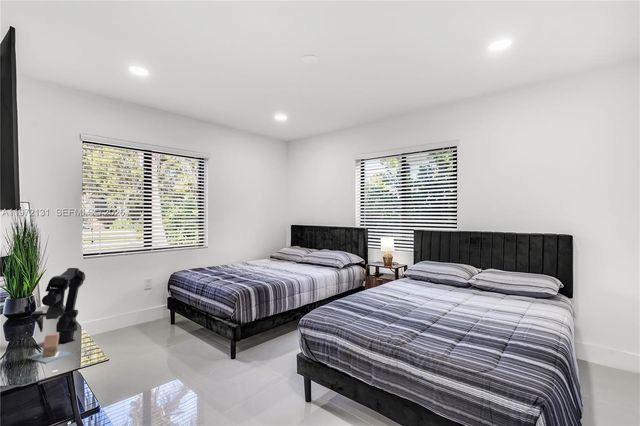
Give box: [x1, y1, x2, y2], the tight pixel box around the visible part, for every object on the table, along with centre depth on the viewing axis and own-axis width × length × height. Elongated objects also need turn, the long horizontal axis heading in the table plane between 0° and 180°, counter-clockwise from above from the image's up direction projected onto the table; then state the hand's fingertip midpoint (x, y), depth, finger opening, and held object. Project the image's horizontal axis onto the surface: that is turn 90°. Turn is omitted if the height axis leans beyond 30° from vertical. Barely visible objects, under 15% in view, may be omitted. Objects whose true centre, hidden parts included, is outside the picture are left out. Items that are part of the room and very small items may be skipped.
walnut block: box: [42, 343, 59, 358], centre depth 161 cm, size 5×5×5 cm
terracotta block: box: [43, 333, 59, 348], centre depth 161 cm, size 5×5×5 cm
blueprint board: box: [27, 349, 72, 364], centre depth 161 cm, size 12×13×1 cm
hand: (52, 331), depth 161 cm, fingers open, 9 cm apart
